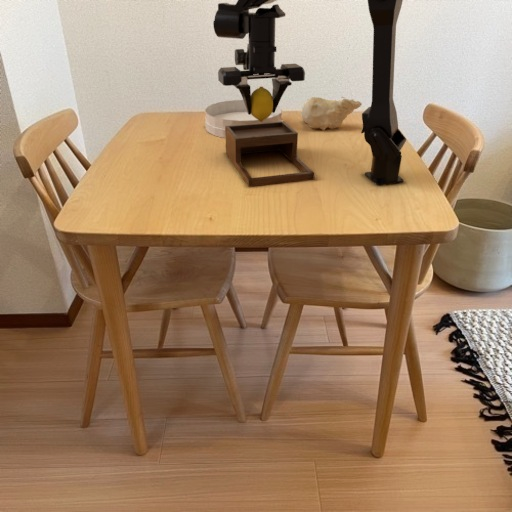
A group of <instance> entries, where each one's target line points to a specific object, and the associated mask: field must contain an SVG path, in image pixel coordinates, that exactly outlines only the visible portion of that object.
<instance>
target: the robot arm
mask: <svg viewBox="0 0 512 512" xmlns="http://www.w3.org/2000/svg"><path fill="white" fill-rule="evenodd" d="M276 1H277V0H237V1H236V3H235V4H234V3H228V2H219V3H218V4H217V10H216V12H215V15H214V20H213V22H212V23H213V30H214V33H215V35H216V37H218V38H223V39H224V38H225V39H236V40H237V39H238V40H243V39H245V37H246V35H248V43H247V45H246V49H247V50H246V51H245V49H244V48H238V49H237V48H236V49H235V50H234V63H235V66H227V67H225V66H224V67H220V68H219V70H218V71H217V75H218V76H217V79H218V81H219V83H220V84H222V85H223V86H226V87H228V86H233V87H235V89H237V90H238V91H239V93H240V94H241V97H242V100H244V103H245V106H246V109H247V112H248V114H249V115H250V114H251V94H252V93H251V91H252V90H251V85H250V84H249V83H248V81H249V80H260V79H271V82H272V93H271V95H272V98H273V110H272V112H273V113H274V112H275V110H276V108H277V106H279V104H280V101H281V99H282V97H283V95H284V93H285V92H286V90H287V88H288V87H289V86H290V87H291V86H292V82H304V81H305V78H306V77H305V76H306V72H305V69H304V67H303V66H302V65H299V64H297V63H281V65H280V68H277V67H276V64H275V59H276V58H275V57H276V53H277V46H276V19H280V18H283V17H286V13H285V11H283V10H282V9H281V7H280V5H279V4H278V3H276V4H273V5H272V6H271V7H262V6H263V5H268V4H272V3H275V2H276ZM403 1H404V0H367V6H368V13H369V16H370V20H371V23H372V27H373V36H372V37H373V39H372V40H373V41H372V43H373V44H372V79H371V80H372V81H371V83H372V84H371V85H372V87H371V103H370V106H368V107H367V108H366V109H365V110H364V111H363V112H362V113H361V121H362V129H361V131H360V133H361V134H363V136H364V140H365V142H366V143H367V144H368V145H369V146H370V151H371V154H372V158H371V159H372V160H371V166H370V171H366V172H364V176H365V177H367V178H368V179H369V180H370V181H371V182H373V183H374V184H375V185H377V186H383V185H384V186H385V185H392V184H393V185H394V184H400V183H404V181H405V180H404V178H403V177H401V176H399V175H400V170H401V163H402V158H403V155H402V151H401V150H402V149H403V147H404V145H405V143H406V142H407V138H406V136H405V135H404V134H403V133H402V131H401V130H400V129H399V122H398V115H397V109H396V105H395V101H394V80H395V61H396V60H395V58H396V57H395V56H396V38H397V37H396V35H397V24H398V20H399V16H400V14H401V13H400V12H401V9H402V5H403ZM254 9H256V10H255V12H250V10H254ZM237 66H242V68H243V70H240V69H239V68H238V67H237Z"/></svg>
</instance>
